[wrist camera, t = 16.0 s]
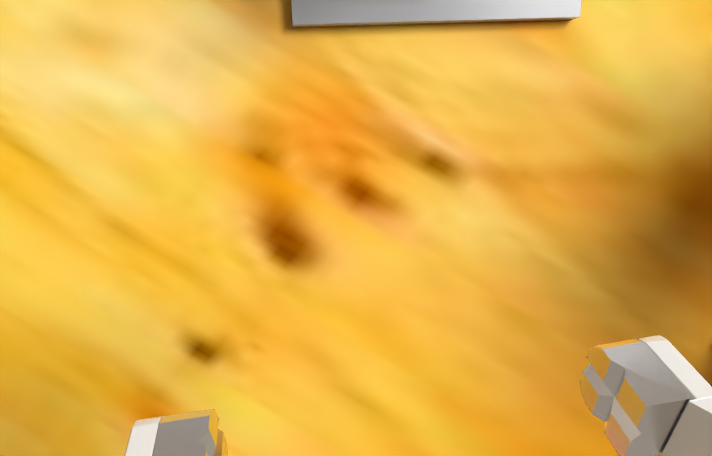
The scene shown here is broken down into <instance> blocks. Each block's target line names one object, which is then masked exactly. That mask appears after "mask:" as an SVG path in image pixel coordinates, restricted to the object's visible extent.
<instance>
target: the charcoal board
mask: <svg viewBox="0 0 712 456" xmlns="http://www.w3.org/2000/svg"><path fill="white" fill-rule="evenodd" d="M291 7H292V22H293V27H310V26H346V25H383V24H420V23H456V22H493V21H530V20H566V19H575V18H578V17H580V11H581V0H291Z"/></svg>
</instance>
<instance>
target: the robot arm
mask: <svg viewBox="0 0 712 456" xmlns="http://www.w3.org/2000/svg"><path fill="white" fill-rule="evenodd" d="M587 359H588V360H589V362H590V363H591V364H590V365H589V366H588V367H587V368H586V369H585V370H583V371H582V375H581V380H580V386H581V392H582V396H583V398H584V400H585V403H586V405H587V406H588V408H589V410H590V411H591V413H592V414H593V415H595V416H596V417H598V418H600V419H601V420H603V421H604V422H605V425H604V433H605V434H606V436H607V437H608V439H609V441H610V442H611V444H612V445H613V447H614V448H615V450H616V451H617V453H618V454H619V456H653V455H659V454H661V456H712V387H711V385H710V384H709V383H708V382H707V381H706V380H705V379H704V378H703V377H702V376H701V375H700V374H699V373H698V372H697V371H696V370H695V368H694V367H693V366H692V365H691V364H690V363H689V362H688V361H687V360H686V359H685V358H684V357H683V356H682V355H681V354H680V353H679V351H678V350H677V349H676V348H675V347H674V346H673V345H672V344H671V343H670V342H669V341H668V340H667V339H666V338H664V337H662V336H660V335H657V336H650V337H644V338H639V339H629V340H624V341H618V342H613V343H607V344H601V345H596V346H593V347H592V348H591V349H590V350H589V352H588V355H587ZM218 421H219V418H218V416H217V413H216V411H215V409H211V410H204V411H197V412H190V413H182V414H175V415H168V416H161V417H154V418H148V419H142V420H137V421H136V422H135V424H134V426H133V427H132V429H131V433H130V437H129V441H128V445H127V449H126V452H125V456H228V451H227V444H226V439H225V436H224V433H223V432H222V431H220V430H219V429H218Z"/></svg>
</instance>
